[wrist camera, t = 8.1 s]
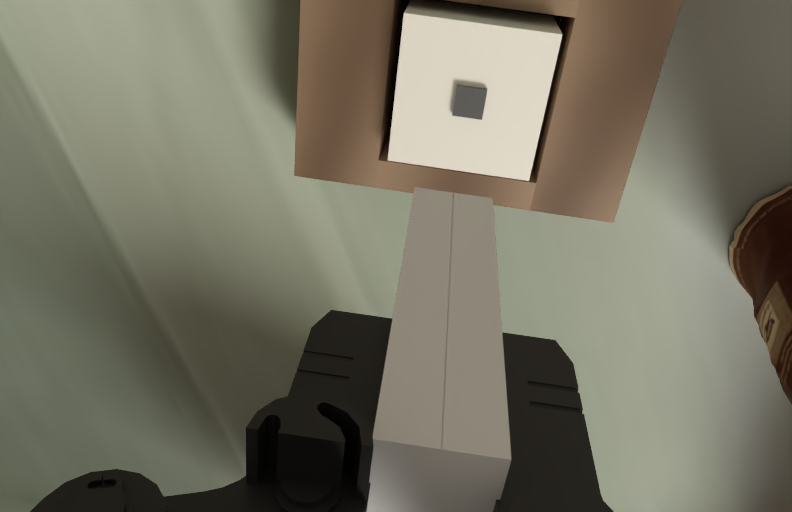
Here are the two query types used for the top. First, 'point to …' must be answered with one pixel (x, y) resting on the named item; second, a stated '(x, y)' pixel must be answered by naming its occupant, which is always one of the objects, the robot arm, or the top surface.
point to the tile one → (472, 87)
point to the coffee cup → (769, 275)
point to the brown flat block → (563, 119)
